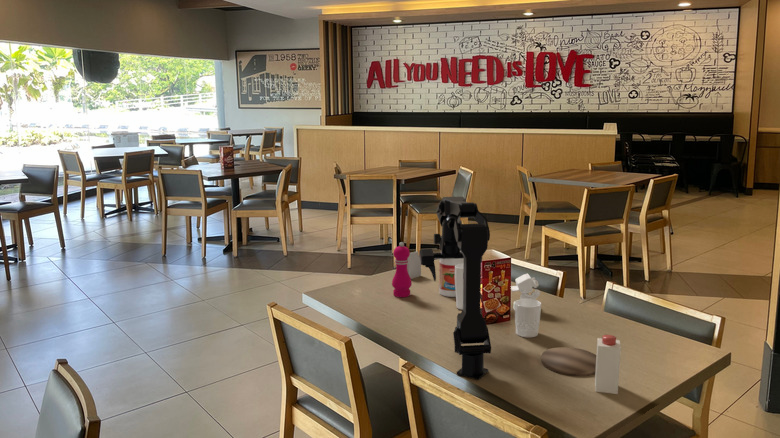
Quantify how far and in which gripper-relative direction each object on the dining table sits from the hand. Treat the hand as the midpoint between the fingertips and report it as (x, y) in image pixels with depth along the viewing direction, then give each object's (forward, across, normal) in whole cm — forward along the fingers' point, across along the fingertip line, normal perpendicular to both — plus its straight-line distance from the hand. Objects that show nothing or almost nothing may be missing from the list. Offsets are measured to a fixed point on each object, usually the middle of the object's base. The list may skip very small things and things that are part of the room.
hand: (449, 279), depth 195 cm
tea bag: (+29, +6, -51) cm, 59 cm away
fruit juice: (+23, -6, -28) cm, 37 cm away
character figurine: (+19, -28, -10) cm, 35 cm away
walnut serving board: (+8, -29, +33) cm, 44 cm away
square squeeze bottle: (+4, -32, +48) cm, 58 cm away
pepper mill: (+23, +12, -29) cm, 39 cm away
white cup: (+13, -23, +12) cm, 29 cm away
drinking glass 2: (+20, -8, -12) cm, 24 cm away
